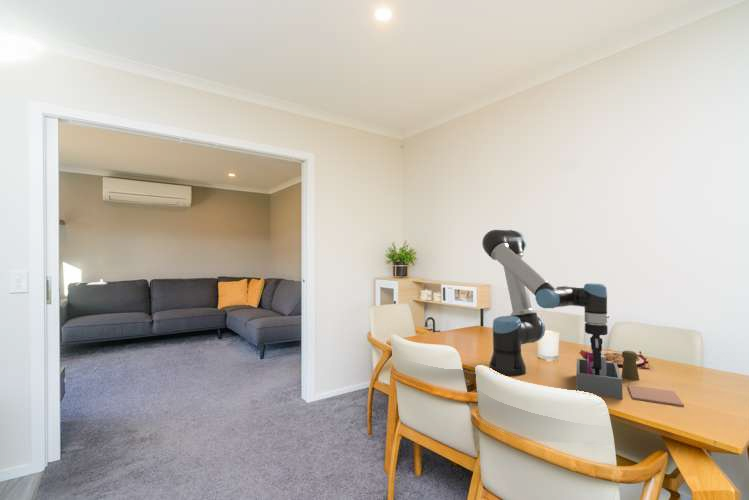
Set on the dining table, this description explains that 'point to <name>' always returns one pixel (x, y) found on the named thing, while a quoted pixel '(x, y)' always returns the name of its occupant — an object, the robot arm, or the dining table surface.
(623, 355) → the cork
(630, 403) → the dining table surface
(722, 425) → the dining table surface
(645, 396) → the mat
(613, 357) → the plate with food
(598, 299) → the robot arm
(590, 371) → the supplement box
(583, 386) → the rectangular frame
